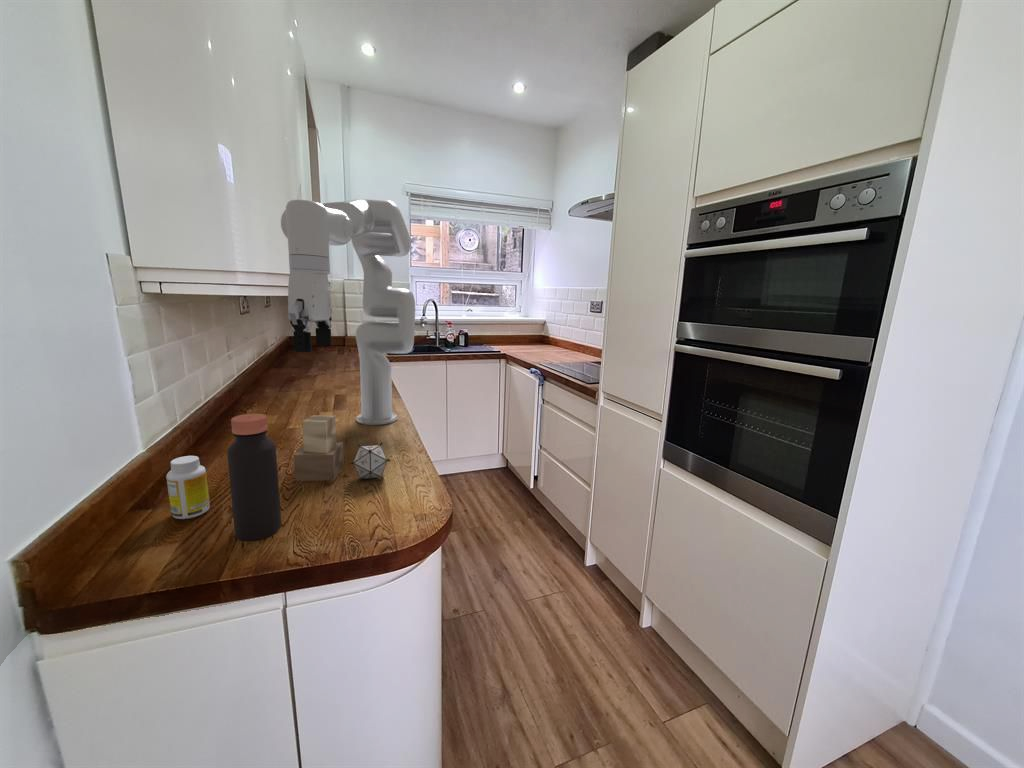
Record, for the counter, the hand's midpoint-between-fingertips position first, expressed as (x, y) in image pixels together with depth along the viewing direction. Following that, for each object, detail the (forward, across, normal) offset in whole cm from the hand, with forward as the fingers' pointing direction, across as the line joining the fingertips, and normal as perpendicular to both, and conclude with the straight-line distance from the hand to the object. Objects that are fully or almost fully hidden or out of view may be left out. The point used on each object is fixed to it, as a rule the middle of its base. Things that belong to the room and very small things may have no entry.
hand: (314, 348), depth 89 cm
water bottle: (+28, +24, 0) cm, 37 cm away
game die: (+28, +2, +12) cm, 31 cm away
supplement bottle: (+28, +19, -15) cm, 37 cm away
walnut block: (+28, 0, 0) cm, 28 cm away
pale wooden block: (+22, 0, 0) cm, 22 cm away
